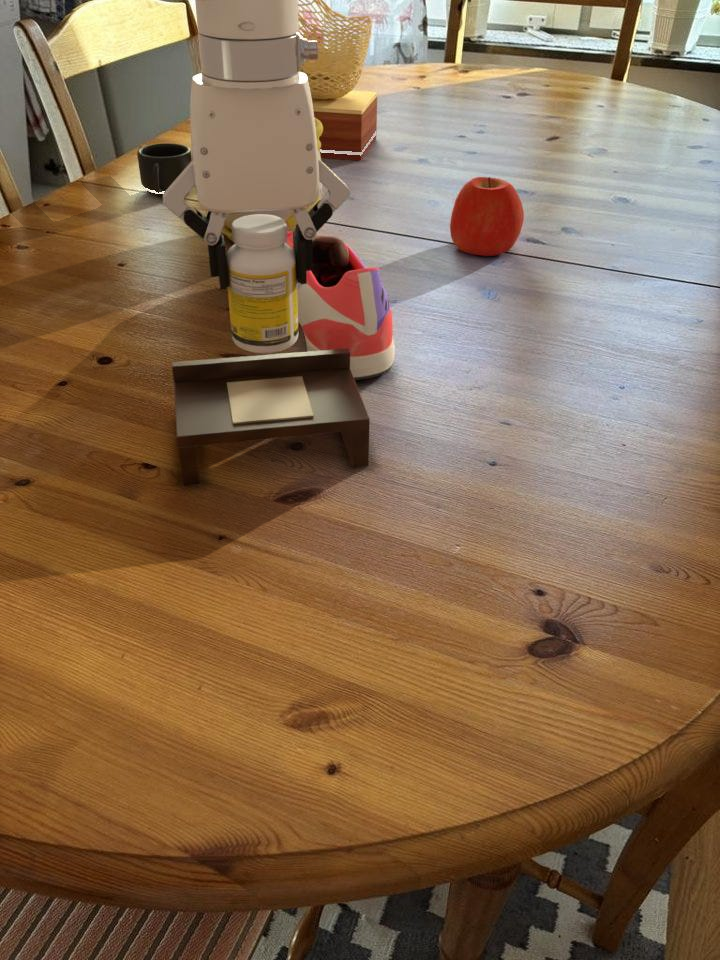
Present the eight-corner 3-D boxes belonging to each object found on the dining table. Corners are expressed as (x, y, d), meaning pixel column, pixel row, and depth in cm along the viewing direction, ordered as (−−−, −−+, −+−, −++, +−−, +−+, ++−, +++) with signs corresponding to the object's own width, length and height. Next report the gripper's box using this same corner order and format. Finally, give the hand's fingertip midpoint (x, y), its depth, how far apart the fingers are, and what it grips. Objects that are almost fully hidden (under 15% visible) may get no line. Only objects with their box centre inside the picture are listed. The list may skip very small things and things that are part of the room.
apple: (527, 242, 134) (536, 172, 128) (506, 266, 126) (515, 193, 120) (461, 230, 137) (467, 162, 131) (437, 253, 129) (442, 182, 123)
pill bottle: (258, 319, 83) (251, 205, 77) (311, 335, 81) (309, 219, 74) (217, 344, 79) (207, 226, 72) (272, 362, 76) (267, 241, 70)
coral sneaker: (307, 263, 126) (306, 170, 118) (420, 377, 99) (427, 267, 91) (225, 275, 122) (218, 180, 114) (320, 398, 95) (319, 284, 87)
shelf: (182, 485, 82) (174, 420, 77) (179, 423, 90) (171, 361, 86) (368, 466, 85) (370, 402, 80) (348, 408, 93) (348, 348, 89)
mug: (149, 183, 154) (144, 142, 150) (199, 184, 154) (195, 143, 149) (131, 205, 144) (125, 162, 140) (185, 207, 144) (180, 164, 140)
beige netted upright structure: (237, 151, 171) (224, -56, 150) (263, 128, 185) (254, -63, 164) (360, 161, 167) (363, -50, 146) (377, 137, 181) (383, -59, 160)
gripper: (352, 47, 70) (349, 258, 81) (134, 51, 67) (162, 270, 78) (370, 66, 64) (365, 291, 75) (133, 71, 61) (163, 305, 72)
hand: (262, 278), depth 76 cm, fingers closed on pill bottle, 6 cm apart
